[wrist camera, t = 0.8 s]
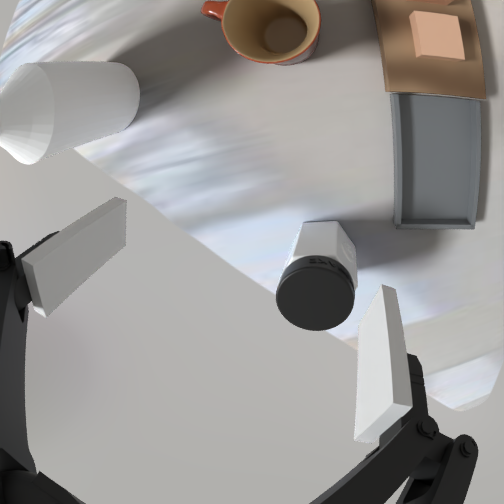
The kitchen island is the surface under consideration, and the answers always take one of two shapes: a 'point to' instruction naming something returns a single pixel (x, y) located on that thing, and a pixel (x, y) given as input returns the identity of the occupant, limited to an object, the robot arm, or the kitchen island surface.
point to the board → (424, 69)
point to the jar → (318, 277)
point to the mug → (268, 28)
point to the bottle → (64, 106)
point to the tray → (435, 161)
